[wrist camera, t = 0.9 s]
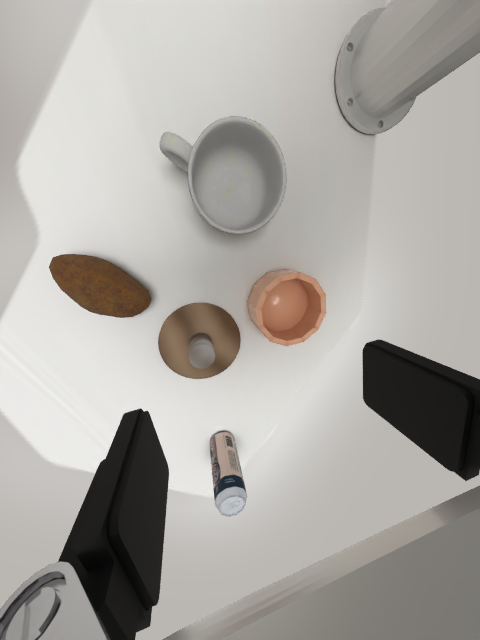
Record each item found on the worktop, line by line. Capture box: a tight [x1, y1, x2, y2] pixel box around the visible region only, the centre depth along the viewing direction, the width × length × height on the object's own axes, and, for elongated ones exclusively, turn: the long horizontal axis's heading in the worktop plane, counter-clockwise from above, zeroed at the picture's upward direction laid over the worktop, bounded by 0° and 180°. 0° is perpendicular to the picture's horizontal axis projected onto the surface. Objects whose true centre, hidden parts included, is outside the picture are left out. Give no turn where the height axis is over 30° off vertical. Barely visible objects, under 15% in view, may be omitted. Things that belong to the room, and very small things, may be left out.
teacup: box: [160, 116, 286, 234], centre depth 26 cm, size 14×11×8 cm
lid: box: [158, 303, 240, 379], centre depth 34 cm, size 13×13×6 cm
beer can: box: [210, 432, 247, 517], centre depth 37 cm, size 5×5×12 cm
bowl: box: [247, 269, 326, 346], centre depth 35 cm, size 11×11×5 cm
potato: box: [49, 254, 151, 318], centre depth 28 cm, size 7×12×7 cm, turn 65°
